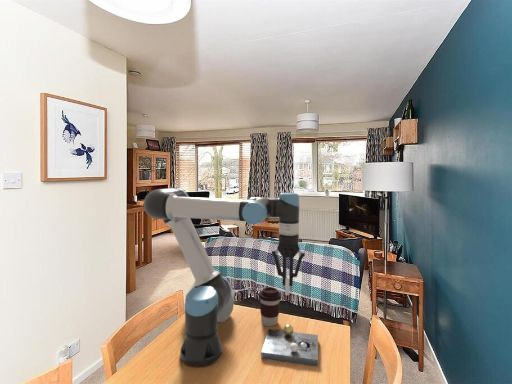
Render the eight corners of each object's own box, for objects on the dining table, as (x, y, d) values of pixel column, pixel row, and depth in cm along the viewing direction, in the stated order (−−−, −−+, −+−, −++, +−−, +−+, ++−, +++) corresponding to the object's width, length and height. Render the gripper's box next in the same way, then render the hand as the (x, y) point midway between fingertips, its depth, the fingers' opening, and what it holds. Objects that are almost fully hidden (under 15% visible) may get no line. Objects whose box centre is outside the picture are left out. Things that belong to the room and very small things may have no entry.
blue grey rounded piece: (233, 313, 140) (234, 272, 139) (233, 321, 133) (233, 278, 131) (188, 314, 139) (188, 273, 137) (185, 322, 131) (185, 278, 130)
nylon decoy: (289, 353, 106) (289, 345, 105) (290, 348, 109) (290, 340, 108) (297, 354, 105) (298, 346, 105) (298, 349, 108) (298, 341, 108)
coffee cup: (279, 329, 126) (279, 295, 125) (256, 326, 128) (256, 293, 127) (281, 318, 136) (282, 286, 135) (260, 316, 138) (261, 284, 137)
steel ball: (298, 352, 110) (299, 344, 110) (298, 347, 113) (299, 339, 113) (307, 354, 109) (307, 346, 109) (307, 349, 112) (308, 341, 112)
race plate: (261, 358, 106) (261, 352, 106) (268, 334, 122) (268, 329, 122) (317, 366, 102) (317, 359, 102) (317, 341, 118) (317, 335, 118)
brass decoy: (282, 336, 116) (282, 327, 116) (283, 331, 120) (284, 322, 120) (292, 338, 115) (293, 328, 115) (293, 332, 119) (293, 323, 119)
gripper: (270, 234, 110) (269, 296, 112) (305, 236, 107) (304, 299, 109) (273, 230, 117) (272, 288, 119) (306, 232, 115) (304, 291, 116)
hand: (287, 293), depth 114 cm, fingers closed
